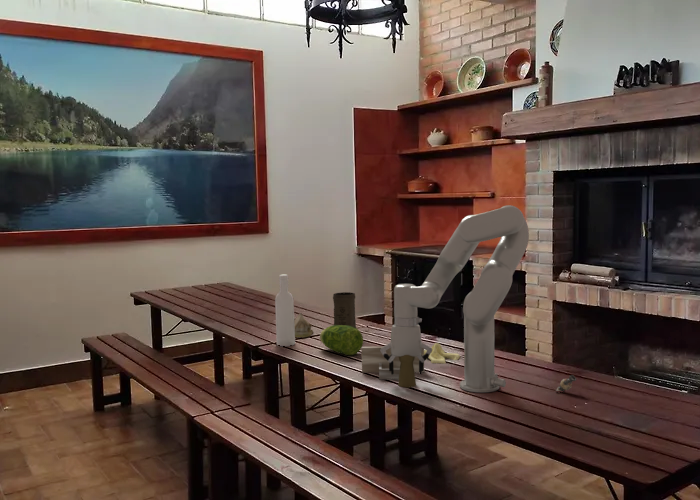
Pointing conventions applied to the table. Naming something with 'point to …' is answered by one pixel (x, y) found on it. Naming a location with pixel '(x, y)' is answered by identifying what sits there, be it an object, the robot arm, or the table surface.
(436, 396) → the table surface
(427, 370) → the table surface
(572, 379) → the vase
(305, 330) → the ceramic model
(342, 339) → the lettuce
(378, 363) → the wall board holder
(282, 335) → the bottle
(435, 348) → the cloth
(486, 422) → the table surface
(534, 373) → the table surface
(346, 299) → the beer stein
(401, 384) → the olive rounded piece
